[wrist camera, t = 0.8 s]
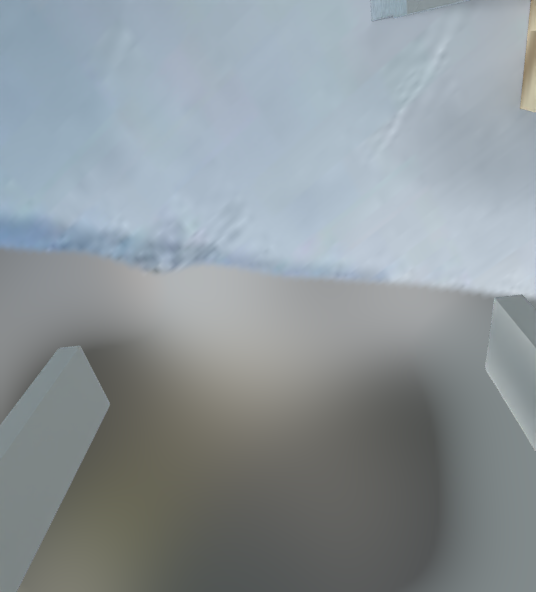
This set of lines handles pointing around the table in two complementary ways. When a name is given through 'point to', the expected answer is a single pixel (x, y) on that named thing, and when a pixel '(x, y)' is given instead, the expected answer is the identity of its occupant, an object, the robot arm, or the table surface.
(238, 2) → the table surface
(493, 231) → the table surface
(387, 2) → the grey u-shaped block
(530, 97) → the wooden block with holes
